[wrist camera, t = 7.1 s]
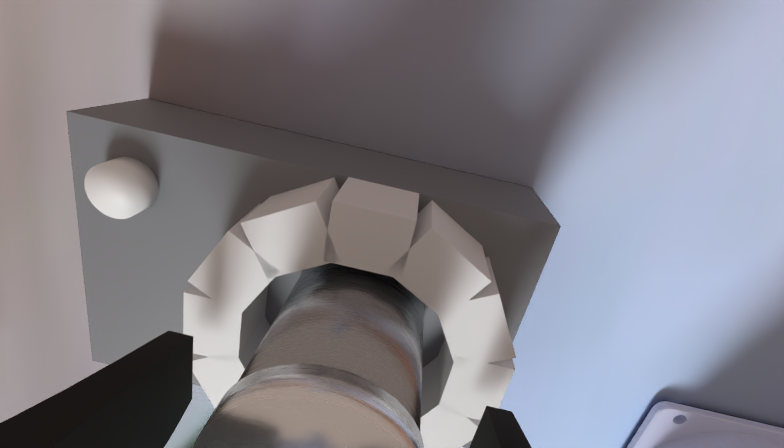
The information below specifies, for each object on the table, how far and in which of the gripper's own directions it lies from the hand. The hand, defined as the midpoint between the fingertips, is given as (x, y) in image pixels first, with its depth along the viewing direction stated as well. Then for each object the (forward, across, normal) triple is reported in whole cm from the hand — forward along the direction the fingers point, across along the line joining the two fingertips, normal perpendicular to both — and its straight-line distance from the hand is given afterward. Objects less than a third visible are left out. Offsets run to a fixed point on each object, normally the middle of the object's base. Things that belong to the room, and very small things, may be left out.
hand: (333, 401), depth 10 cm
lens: (+3, 0, -1) cm, 3 cm away
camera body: (+7, +2, 0) cm, 7 cm away
